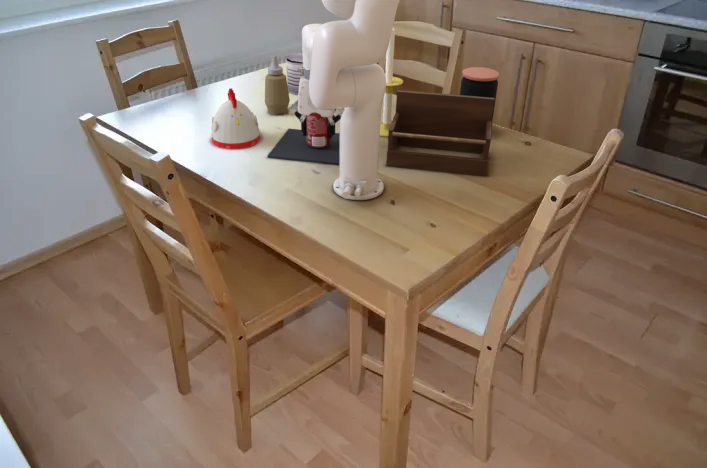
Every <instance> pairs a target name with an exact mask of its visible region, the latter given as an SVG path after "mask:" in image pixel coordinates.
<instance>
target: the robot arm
mask: <svg viewBox="0 0 707 468" xmlns="http://www.w3.org/2000/svg"><path fill="white" fill-rule="evenodd" d="M400 1H401V0H321V3H322V5H323V6H324V8H325V9H326V10H327V11H328V12H330V13H331V14H333V15H335V16H338V17H340V18H343V19H342V20H341V19H339V20H332V21H327V22H324V23H309V24H306V25H304V26H303V28H302V29H301V51H302V52H301V53H303V67H301V68H299V67H298V72H299V73H302V77H301V78H300V83H299V93H298V95H297V100H295V101H294V102H293V103H292V104H290V106H289V109H290V111H291V112H292V113H293V114H294V116H295V117H296V118H297V119H298V120H299V123H300V128H301V129H300V130H301V131H302V132H303V136H306V135H307V133H306V116H308V115H309V114H311V113H318V114H320V115H321V116H322V117H327V118H328V120H329V122H330V124H329V138H330V139H331V138H332V137H333V135H335V133H336V124H337V123H338V122H339V133H340V165H339V177H337V178H336V179H335V180H334V182H333V185H332V186H333V191H334V193H336V195H338V196H339V197H342V198H343V199H345V200H347V199H348V200H353V201H366V200H372V199H375V198H377V197H378V196H379V197H380V195H381V194H382V193H383V192H384V189H385V184H384V182H383V181H382V179H380V178H379V158H380V136H379V135H380V123H381V115H382V109H383V104H384V94H385V89H386V76H385V73H386V71H384V69H383V67H382V66H381V65H380V64H378V63H380V62H382V61H383V60H384V59H385V58H386V53H387V49H388V46H389V42H390V37H391V33H392V29H393V27H394V24H395V19H396V14H397V10H398V6H399V4H400ZM336 111H338V112H339V113H338V114H337V115H335V112H336Z"/></svg>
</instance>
